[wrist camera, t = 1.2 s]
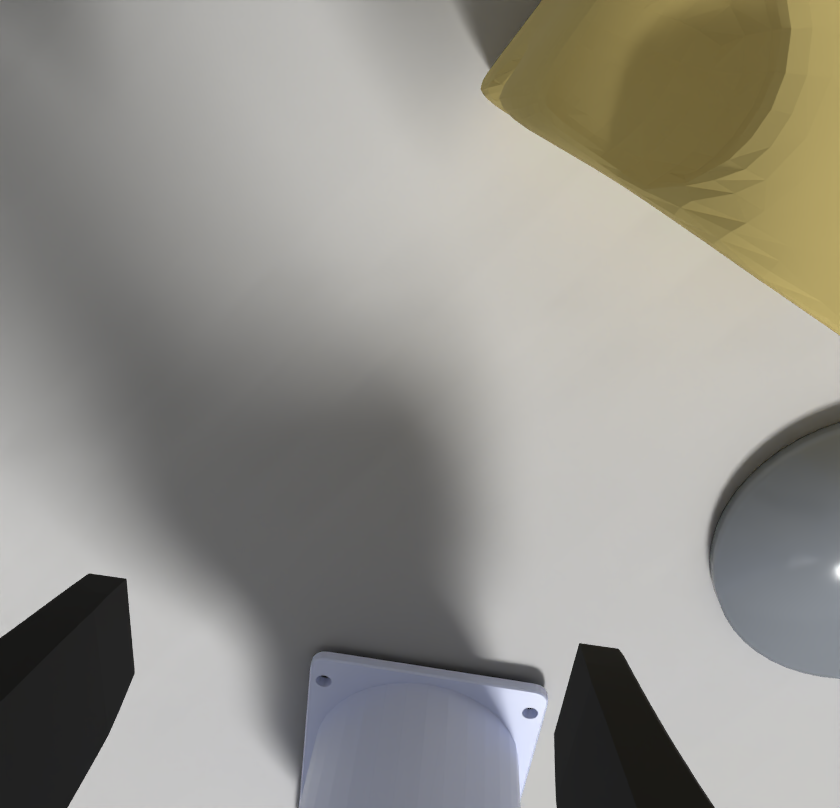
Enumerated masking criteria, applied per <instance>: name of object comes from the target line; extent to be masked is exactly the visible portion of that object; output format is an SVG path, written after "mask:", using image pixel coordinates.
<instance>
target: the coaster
mask: <svg viewBox="0 0 840 808" xmlns="http://www.w3.org/2000/svg"><path fill="white" fill-rule="evenodd" d="M710 573H711V579H712V583H713V587H714V591H715V593H716V596H717V598H718V600H719V603H720V605H721V608H722V610H723V612H724V615H725V617H726V619H727V620H728V622H729V623H730V625H731V626H732V628H733V630H734V631H735V632H736V633H737V634H738V635H739V636H740V637H741V639H742V640H743V641H744V642H745V643H747V644H748V645H749V646H750V647H751V648H753V649H754V650H755V651H756V652H758V653H760V654H761V655H763V656H764V657H766V658H768V659H769V660H771V661H773V662H775V663H778V664H780V665H782V666H784V667H786V668H789V669H793V670H796V671H799V672H802V673H806V674H811V675H815V676H820V677H828V678H838V679H840V423H837V424H834V425H831V426H828V427H825V428H823V429H820V430H818V431H816V432H814V433H811V434H809V435H807V436H805V437H803V438H801V439H799V440H797V441H796V442H794V443H792V444H790V445H789V446H787V447H785V448H784V449H782V450H780V451H779V452H778V453H776V454H775V455H774V456H772V457H771V458H770V459H768V460H767V461H766V462H764V463H763V464H762V465H761V466H760V467H759V468H758V469H757V470H756V471H755V472H753V473H752V474H751V475H750V476H749V477H748V478H747V479H746V480H745V482H744V483H743V484H742V485H741V486H740V488H739V489H738V490H737V491H736V492H735V494H734V495H733V497H732V498H731V500H730V501H729V503H728V504H727V506H726V508H725V509H724V511H723V513H722V515H721V518H720V520H719V522H718V524H717V526H716V530H715V533H714V537H713V540H712V545H711V553H710Z"/></svg>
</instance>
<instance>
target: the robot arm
mask: <svg viewBox="0 0 840 808" xmlns="http://www.w3.org/2000/svg"><path fill="white" fill-rule="evenodd" d="M134 673H135V671H134V659H133V648H132V637H131V626H130V614H129V603H128V592H127V581H126V579H124V578H117V577H110V576H103V575H96V574H87V575H86V576H85V577H83V578H82V579H81V580H79V581H78V582H76V583H75V584H74V585H72V586H71V587H69V588H68V589H67V590H65V591H64V592H62V593H61V594H60V595H58V596H57V597H56V598H54V599H53V600H52V601H50V602H49V603H47V604H46V605H45V606H43V607H42V608H41V609H39V610H38V611H37V612H35V613H34V614H33V615H31V616H30V617H29V618H27V619H26V620H24V621H23V622H22V623H20V624H19V625H18V626H16V627H15V628H14V629H12V630H11V631H9V632H8V633H7V634H5V635H4V636H2V637H1V638H0V808H67V807H68V806H69V804H70V802H71V800H72V799H73V797H74V795H75V793H76V792H77V790H78V788H79V786H80V785H81V783H82V781H83V779H84V778H85V776H86V774H87V772H88V771H89V769H90V767H91V765H92V763H93V762H94V760H95V758H96V756H97V755H98V753H99V751H100V749H101V747H102V746H103V744H104V742H105V740H106V738H107V737H108V735H109V732H110V730H111V728H112V726H113V723H114V721H115V719H116V717H117V714H118V712H119V710H120V707H121V705H122V703H123V700H124V698H125V695H126V693H127V690H128V688H129V686H130V683H131V681H132V678H133V676H134ZM321 675H325V676H327V677H329V678H325V677H322V676H321ZM547 705H548V696H547V691H546V690H545V688H543V687H542V686H541V685H538V684H534V683H527V682H521V681H514V680H508V679H501V678H495V677H488V676H482V675H476V674H469V673H463V672H456V671H450V670H443V669H437V668H430V667H424V666H418V665H411V664H405V663H398V662H392V661H385V660H379V659H373V658H366V657H360V656H353V655H347V654H340V653H334V652H319V653H317V654H316V655H314V656H313V659H312V662H311V666H310V675H309V688H308V701H307V713H306V726H305V739H304V751H303V764H302V776H301V789H300V802H299V808H520V800H521V797H522V793H523V789H524V786H525V782H526V779H527V775H528V772H529V768H530V765H531V761H532V758H533V754H534V751H535V747H536V744H537V740H538V737H539V733H540V730H541V726H542V723H543V719H544V716H545V712H546V709H547ZM526 708H534V709H526ZM554 747H555V784H556V804H557V808H715V807H714V806H713V804H712V803H711V801H710V800H709V798H708V797H707V795H706V794H705V792H704V791H703V789H702V788H701V786H700V785H699V783H698V782H697V780H696V779H695V777H694V775H693V774H692V772H691V771H690V769H689V767H688V766H687V764H686V763H685V761H684V760H683V758H682V756H681V755H680V753H679V752H678V750H677V748H676V747H675V745H674V744H673V742H672V740H671V739H670V737H669V735H668V734H667V732H666V730H665V729H664V727H663V725H662V724H661V722H660V720H659V718H658V717H657V715H656V713H655V711H654V710H653V708H652V706H651V705H650V703H649V701H648V699H647V697H646V696H645V694H644V692H643V690H642V689H641V687H640V685H639V683H638V681H637V679H636V678H635V676H634V674H633V672H632V670H631V668H630V667H629V665H628V663H627V661H626V659H625V657H624V656H623V654H622V653H621V652H620V650H619V649H616V648H609V647H602V646H595V645H588V644H581V643H579V646H578V650H577V654H576V657H575V661H574V664H573V668H572V672H571V675H570V679H569V682H568V686H567V690H566V693H565V697H564V700H563V704H562V708H561V711H560V715H559V718H558V722H557V726H556V729H555V733H554Z"/></svg>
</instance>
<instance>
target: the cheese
mask: <svg viewBox="0 0 840 808" xmlns="http://www.w3.org/2000/svg"><path fill="white" fill-rule="evenodd" d="M481 90H482V93H483V94H484V95H485V96H486V98H487V99H488V100H489V101H491V102H492V103H493V104H494V105H496V106H497V107H498V108H500V109H501V110H503V111H504V112H506V113H508V114H509V115H510V116H511V117H512V118H513V119H514V120H516V121H517V122H519V123H520V124H522V125H523V126H524V127H526V128H527V129H529V130H530V131H532V132H534V133H535V134H537V135H539V136H540V137H542V138H544V139H546V140H547V141H549V142H551V143H552V144H554V145H556V146H557V147H559V148H561V149H563V150H564V151H566V152H568V153H569V154H571V155H573V156H574V157H576V158H578V159H580V160H581V161H583V162H585V163H586V164H588V165H590V166H591V167H593V168H595V169H596V170H598V171H600V172H601V173H603V174H604V175H606V176H608V177H609V178H611V179H612V180H614V181H616V182H617V183H619V184H620V185H622V186H623V187H625V188H627V189H628V190H630V191H631V192H633V193H634V194H636V195H637V196H639V197H640V198H642V199H643V200H645V201H646V202H648V203H649V204H650V205H652V206H653V207H655V208H656V209H658V210H659V211H661V212H662V213H664V214H665V215H666V216H668V217H669V218H671V219H672V220H674V221H675V222H677V223H678V224H680V225H681V226H683V227H684V228H685V229H687V230H688V231H690V232H691V233H693V234H694V235H696V236H697V237H699V238H700V239H701V240H703V241H704V242H706V243H707V244H709V245H710V246H711V247H713V248H714V249H716V250H717V251H719V252H720V253H721V254H723V255H724V256H726V257H727V258H729V259H730V260H731V261H733V262H734V263H736V264H737V265H739V266H740V267H741V268H743V269H744V270H746V271H747V272H749V273H750V274H751V275H753V276H754V277H756V278H757V279H759V280H760V281H762V282H763V283H765V284H766V285H767V286H769V287H770V288H772V289H773V290H775V291H776V292H778V293H779V294H781V295H782V296H784V297H785V298H786V299H788V300H789V301H791V302H792V303H794V304H795V305H797V306H798V307H799V308H801V309H802V310H804V311H805V312H807V313H808V314H810V315H811V316H812V317H814V318H815V319H817V320H818V321H820V322H821V323H823V324H824V325H825V326H827V327H828V328H830V329H831V330H833V331H834V332H836V333H837V334H838V335H840V0H542V1H541V2H540V3H539V5H538V6H537V8H536V9H535V10H534V12H533V13H532V14H531V16H530V17H529V18H528V19H527V21H526V22H525V23H524V25H523V26H522V27H521V29H520V30H519V31H518V33H517V34H516V35H515V37H514V38H513V39H512V41H511V42H510V43H509V44H508V46H507V47H506V48H505V50H504V51H503V52H502V54H501V55H500V56H499V58H498V59H497V60H496V62H495V63H494V65H493V66H492V67H491V69H490V70H489V72H488V73H487V75H486V76H485V78H484V80H483V82H482V85H481Z"/></svg>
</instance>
